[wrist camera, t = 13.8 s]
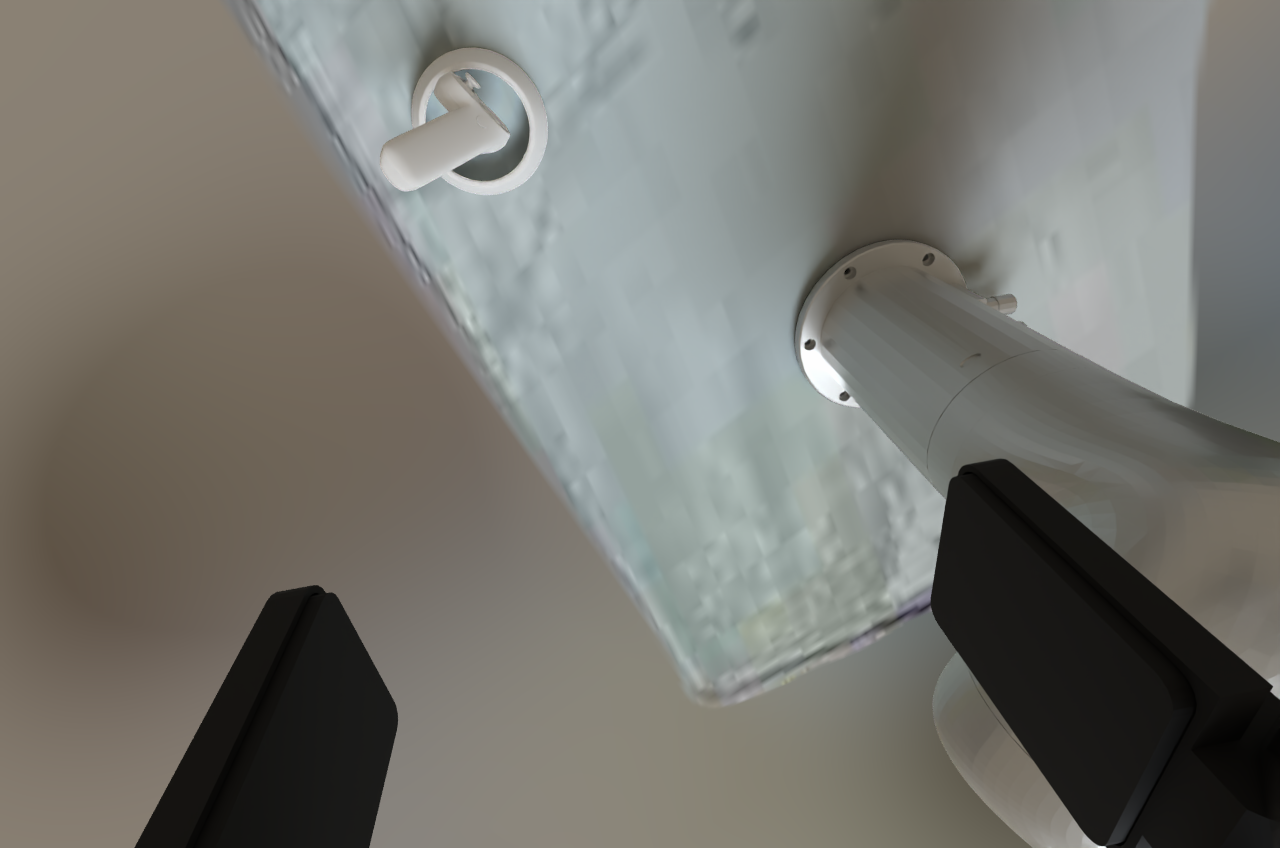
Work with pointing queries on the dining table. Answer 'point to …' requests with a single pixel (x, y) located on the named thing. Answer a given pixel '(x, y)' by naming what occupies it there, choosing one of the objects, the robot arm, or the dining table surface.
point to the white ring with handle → (463, 126)
